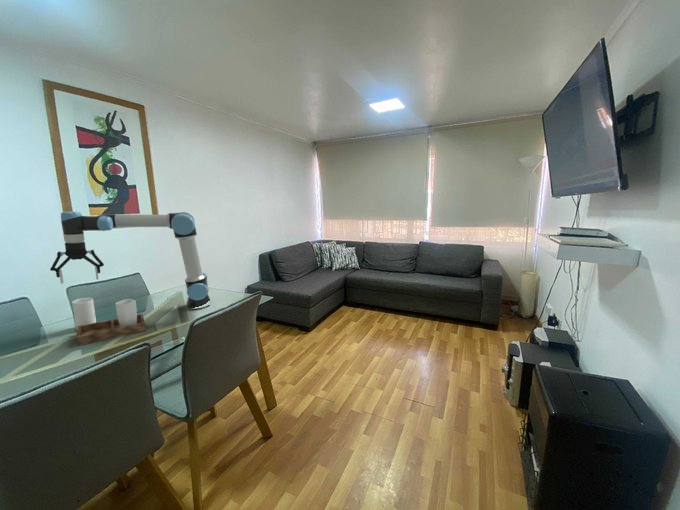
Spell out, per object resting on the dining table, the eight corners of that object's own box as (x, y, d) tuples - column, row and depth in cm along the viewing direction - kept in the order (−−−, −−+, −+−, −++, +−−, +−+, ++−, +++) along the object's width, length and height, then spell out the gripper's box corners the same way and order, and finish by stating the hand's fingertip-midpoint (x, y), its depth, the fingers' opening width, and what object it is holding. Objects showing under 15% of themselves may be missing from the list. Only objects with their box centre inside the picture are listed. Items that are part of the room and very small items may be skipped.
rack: (143, 320, 160) (142, 313, 159) (145, 330, 149) (145, 322, 148) (79, 333, 142) (77, 326, 141) (77, 345, 131) (75, 337, 130)
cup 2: (116, 328, 147) (113, 303, 144) (129, 322, 154) (126, 298, 151) (127, 330, 146) (124, 305, 143) (139, 324, 153) (137, 300, 150)
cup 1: (75, 326, 148) (71, 299, 145) (95, 322, 154) (91, 296, 151) (77, 332, 143) (72, 304, 139) (97, 327, 149) (93, 300, 145)
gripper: (106, 239, 149) (110, 275, 154) (40, 241, 133) (47, 282, 137) (106, 241, 144) (111, 279, 148) (37, 244, 127) (45, 286, 132)
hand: (80, 280), depth 143 cm, fingers open, 13 cm apart
